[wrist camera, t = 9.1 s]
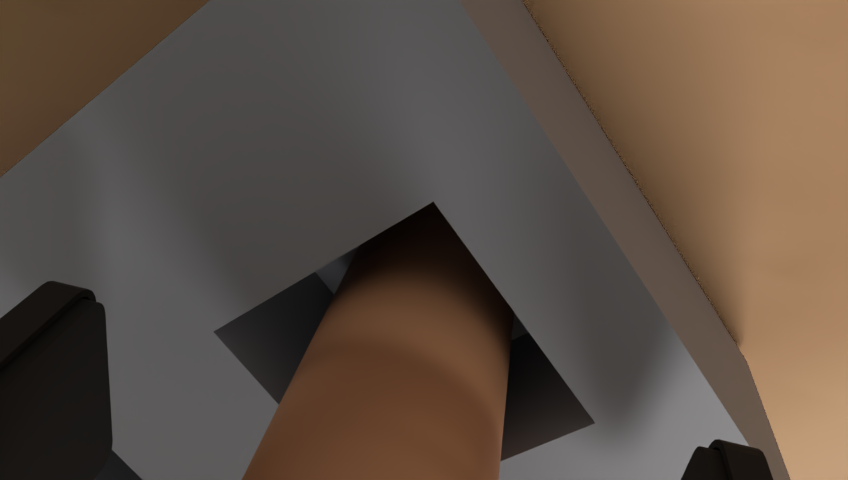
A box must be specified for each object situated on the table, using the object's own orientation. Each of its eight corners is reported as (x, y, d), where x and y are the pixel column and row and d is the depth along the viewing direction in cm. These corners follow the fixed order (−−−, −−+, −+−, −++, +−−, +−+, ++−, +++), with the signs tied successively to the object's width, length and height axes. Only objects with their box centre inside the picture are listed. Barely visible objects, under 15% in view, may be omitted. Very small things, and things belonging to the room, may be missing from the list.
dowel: (419, 358, 16) (247, 990, 7) (327, 245, 15) (-5, 813, 6) (548, 295, 14) (535, 964, 6) (457, 166, 14) (277, 737, 5)
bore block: (236, 567, 22) (156, 739, 18) (-66, 270, 19) (-255, 393, 14) (746, 361, 16) (815, 547, 12) (436, -137, 13) (370, -136, 8)
